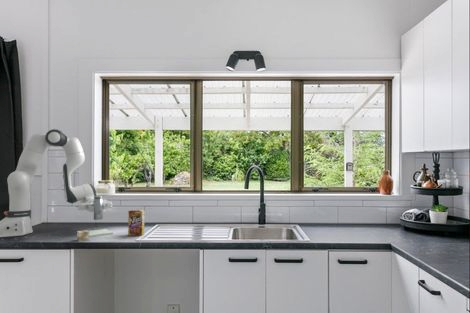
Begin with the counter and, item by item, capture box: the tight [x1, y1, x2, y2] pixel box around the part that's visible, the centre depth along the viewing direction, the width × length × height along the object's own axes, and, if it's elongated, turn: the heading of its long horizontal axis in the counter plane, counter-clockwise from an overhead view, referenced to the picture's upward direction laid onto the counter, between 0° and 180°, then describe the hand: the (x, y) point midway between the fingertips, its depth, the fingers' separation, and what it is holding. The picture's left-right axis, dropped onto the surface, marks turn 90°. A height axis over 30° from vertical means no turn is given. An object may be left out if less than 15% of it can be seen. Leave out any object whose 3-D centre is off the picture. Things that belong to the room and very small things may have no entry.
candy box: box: [127, 209, 146, 237], centre depth 201 cm, size 9×4×15 cm, turn 84°
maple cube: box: [76, 229, 90, 242], centre depth 188 cm, size 5×5×5 cm
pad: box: [88, 228, 114, 238], centre depth 205 cm, size 14×14×1 cm
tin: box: [93, 195, 104, 221], centre depth 205 cm, size 5×5×14 cm
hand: (98, 207), depth 205 cm, fingers closed on tin, 5 cm apart
